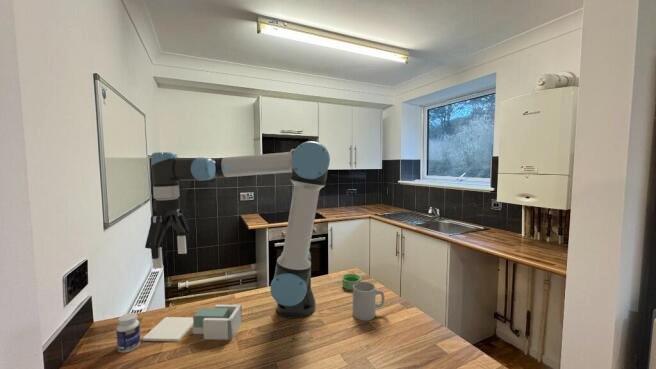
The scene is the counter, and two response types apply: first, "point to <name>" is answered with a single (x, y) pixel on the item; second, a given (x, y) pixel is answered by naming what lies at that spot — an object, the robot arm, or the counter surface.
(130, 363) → the counter surface
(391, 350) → the counter surface
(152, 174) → the robot arm
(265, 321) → the counter surface
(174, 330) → the plate
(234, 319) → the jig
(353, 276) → the ramekin
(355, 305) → the mug
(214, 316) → the bar
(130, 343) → the pill bottle
